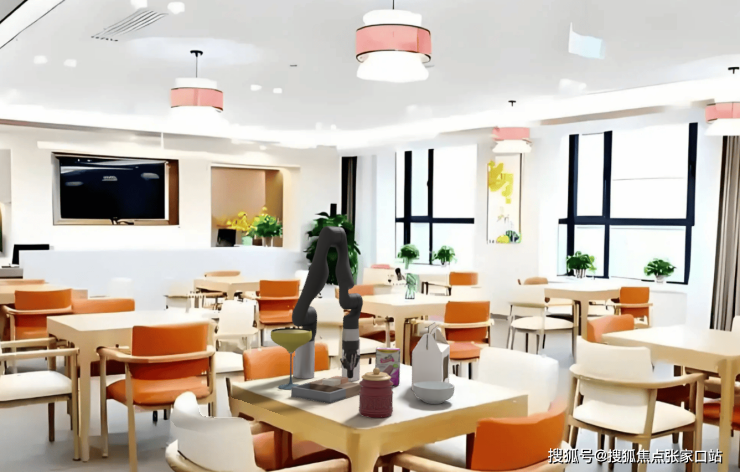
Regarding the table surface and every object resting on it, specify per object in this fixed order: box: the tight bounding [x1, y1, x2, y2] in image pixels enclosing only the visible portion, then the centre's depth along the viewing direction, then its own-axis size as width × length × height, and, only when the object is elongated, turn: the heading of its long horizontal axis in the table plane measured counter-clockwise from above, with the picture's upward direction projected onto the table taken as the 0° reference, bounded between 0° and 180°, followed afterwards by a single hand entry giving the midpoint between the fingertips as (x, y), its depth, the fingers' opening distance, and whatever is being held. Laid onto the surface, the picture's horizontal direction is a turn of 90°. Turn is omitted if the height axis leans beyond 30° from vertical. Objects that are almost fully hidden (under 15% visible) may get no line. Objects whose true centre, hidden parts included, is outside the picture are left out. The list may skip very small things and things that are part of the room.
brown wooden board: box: [308, 377, 361, 399], centre depth 314 cm, size 20×12×4 cm, turn 56°
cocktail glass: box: [270, 327, 312, 391], centre depth 324 cm, size 18×18×25 cm
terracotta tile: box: [329, 375, 349, 384], centre depth 317 cm, size 6×5×2 cm
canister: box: [358, 367, 394, 419], centre depth 279 cm, size 13×13×18 cm
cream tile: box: [322, 377, 341, 386], centre depth 312 cm, size 6×5×2 cm
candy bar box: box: [374, 346, 402, 386], centre depth 332 cm, size 11×5×16 cm, turn 84°
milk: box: [341, 338, 361, 382], centre depth 341 cm, size 6×6×22 cm
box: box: [290, 382, 347, 404], centre depth 305 cm, size 20×11×4 cm, turn 56°
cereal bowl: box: [413, 381, 455, 405], centre depth 300 cm, size 17×17×7 cm
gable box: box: [411, 322, 451, 392], centre depth 329 cm, size 22×13×28 cm, turn 165°
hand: (350, 377), depth 323 cm, fingers closed
